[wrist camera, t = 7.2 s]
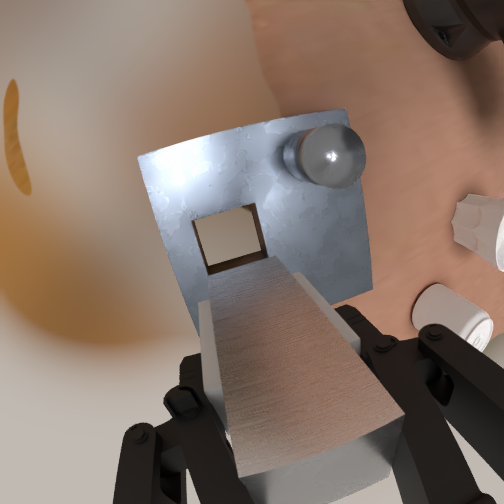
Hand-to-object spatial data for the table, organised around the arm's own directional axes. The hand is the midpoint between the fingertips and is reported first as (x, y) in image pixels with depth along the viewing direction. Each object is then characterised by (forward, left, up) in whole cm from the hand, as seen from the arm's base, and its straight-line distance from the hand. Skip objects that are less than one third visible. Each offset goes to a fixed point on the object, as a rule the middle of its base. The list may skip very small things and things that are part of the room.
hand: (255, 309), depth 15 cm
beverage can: (+20, +27, -17) cm, 38 cm away
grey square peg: (0, 0, -2) cm, 2 cm away
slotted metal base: (0, +4, -17) cm, 17 cm away
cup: (+8, +36, -17) cm, 41 cm away
